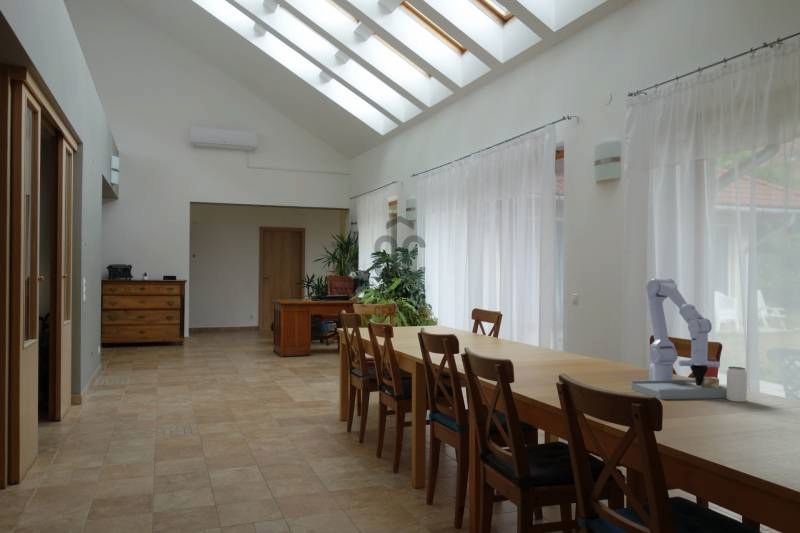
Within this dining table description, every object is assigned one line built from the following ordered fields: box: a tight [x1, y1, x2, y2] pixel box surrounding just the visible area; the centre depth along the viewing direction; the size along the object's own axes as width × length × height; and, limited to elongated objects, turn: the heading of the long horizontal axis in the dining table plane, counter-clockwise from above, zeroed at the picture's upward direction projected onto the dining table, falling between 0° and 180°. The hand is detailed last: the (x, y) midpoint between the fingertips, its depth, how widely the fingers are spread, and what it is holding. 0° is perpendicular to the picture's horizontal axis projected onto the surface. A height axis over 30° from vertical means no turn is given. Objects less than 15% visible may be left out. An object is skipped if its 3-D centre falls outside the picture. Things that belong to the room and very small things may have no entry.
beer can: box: [704, 356, 719, 379], centre depth 255 cm, size 7×7×12 cm
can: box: [725, 366, 748, 403], centre depth 228 cm, size 6×6×12 cm
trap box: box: [631, 379, 727, 400], centre depth 240 cm, size 19×29×4 cm, turn 100°
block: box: [701, 377, 720, 388], centre depth 238 cm, size 5×5×4 cm
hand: (698, 385), depth 239 cm, fingers closed
